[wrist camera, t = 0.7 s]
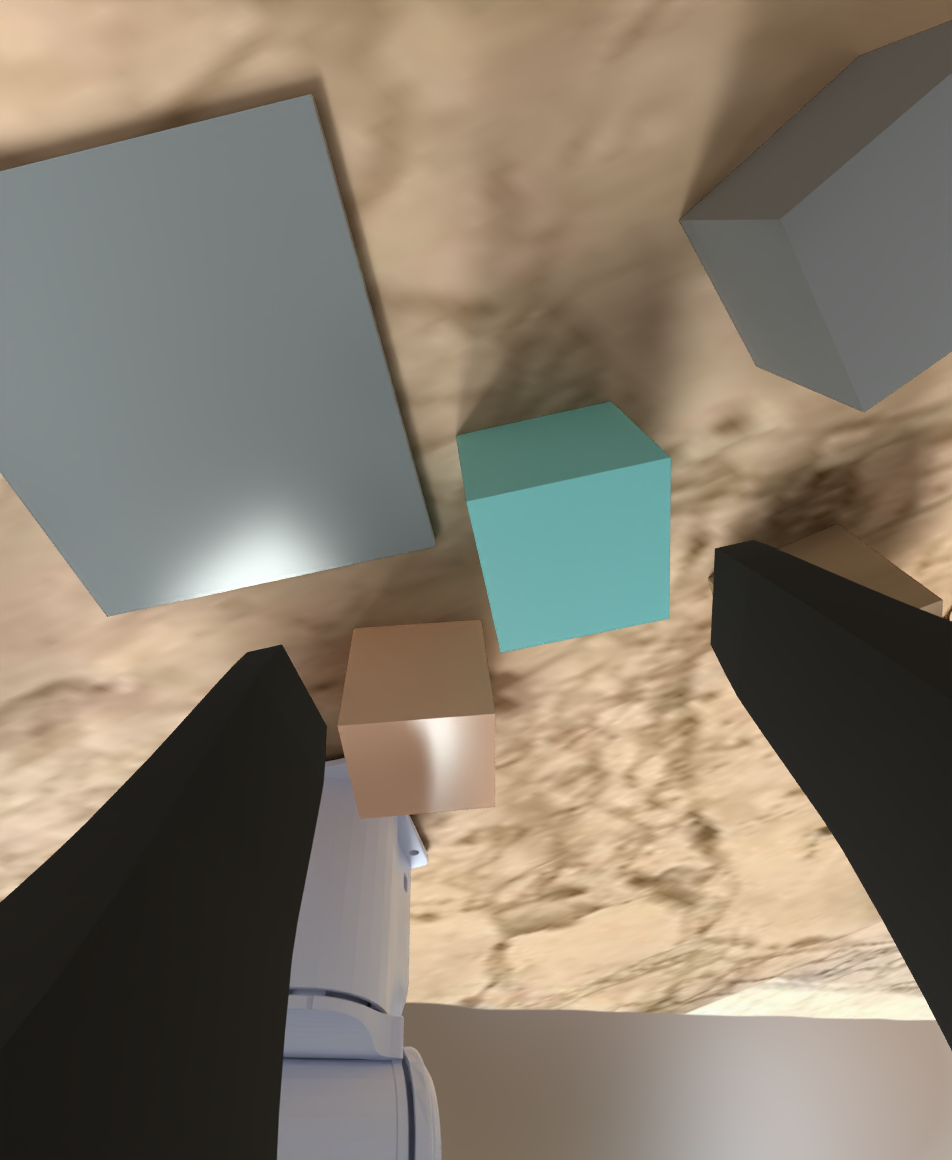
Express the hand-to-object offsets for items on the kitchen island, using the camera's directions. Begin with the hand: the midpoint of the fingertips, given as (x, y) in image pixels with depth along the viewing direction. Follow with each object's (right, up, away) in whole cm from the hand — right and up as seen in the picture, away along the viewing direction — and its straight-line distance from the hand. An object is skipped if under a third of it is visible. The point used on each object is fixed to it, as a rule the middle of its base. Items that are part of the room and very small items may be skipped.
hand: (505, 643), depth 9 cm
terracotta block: (-3, -3, +14) cm, 14 cm away
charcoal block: (+8, +11, +6) cm, 15 cm away
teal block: (+2, +4, +9) cm, 10 cm away
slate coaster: (-9, +6, +7) cm, 13 cm away
